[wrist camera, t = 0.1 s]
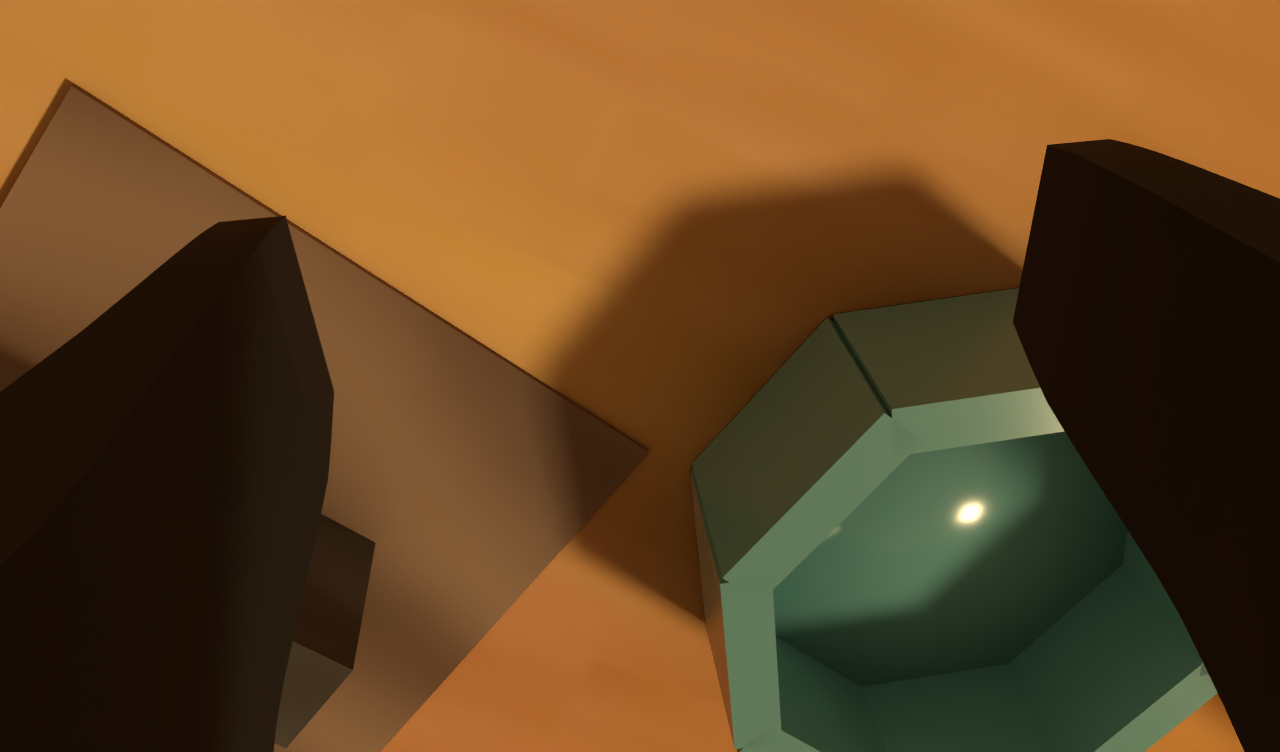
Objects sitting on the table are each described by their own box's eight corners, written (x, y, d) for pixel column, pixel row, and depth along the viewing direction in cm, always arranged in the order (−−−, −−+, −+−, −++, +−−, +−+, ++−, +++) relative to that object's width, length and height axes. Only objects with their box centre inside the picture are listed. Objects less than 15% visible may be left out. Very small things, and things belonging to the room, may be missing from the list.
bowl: (924, 750, 29) (980, 881, 26) (599, 563, 25) (614, 688, 22) (1253, 465, 26) (1370, 571, 22) (939, 195, 22) (1021, 273, 18)
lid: (332, 785, 28) (301, 957, 24) (-196, 558, 24) (-349, 723, 19) (644, 434, 24) (672, 566, 20) (87, 75, 20) (-28, 151, 15)
